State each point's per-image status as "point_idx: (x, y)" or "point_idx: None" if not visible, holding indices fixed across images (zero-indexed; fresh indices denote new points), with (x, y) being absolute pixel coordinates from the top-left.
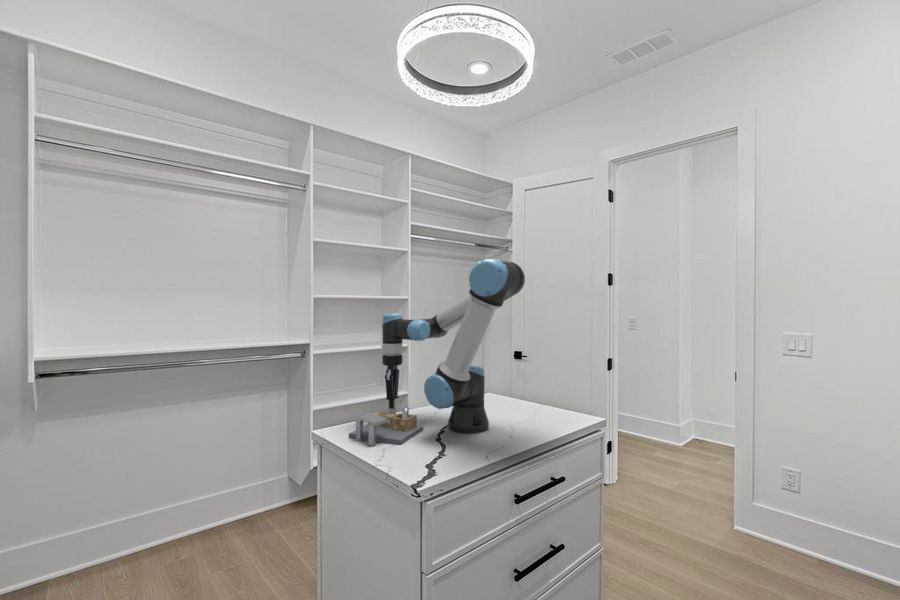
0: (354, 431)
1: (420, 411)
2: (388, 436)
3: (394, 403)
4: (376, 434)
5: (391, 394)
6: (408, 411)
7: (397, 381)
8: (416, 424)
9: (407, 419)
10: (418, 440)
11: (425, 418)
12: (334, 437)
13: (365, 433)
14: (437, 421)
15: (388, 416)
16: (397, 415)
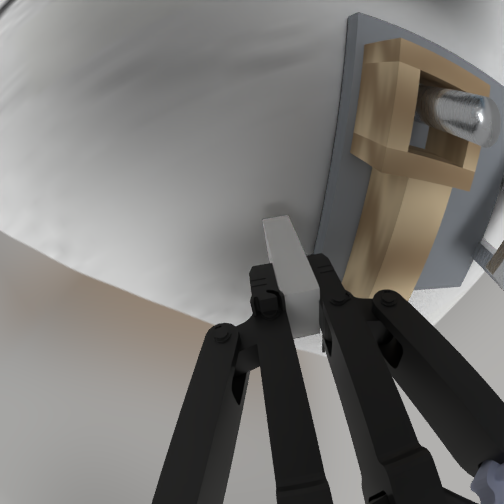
0: (446, 283)
1: (5, 197)
2: (497, 149)
3: (310, 272)
4: (481, 200)
5: (420, 327)
6: (475, 94)
7: (207, 467)
8: (373, 44)
9: (484, 90)
10: (460, 33)
11: (87, 97)
12: (436, 312)
13: (469, 241)
14: (124, 6)
15: (443, 213)
16: (430, 168)
